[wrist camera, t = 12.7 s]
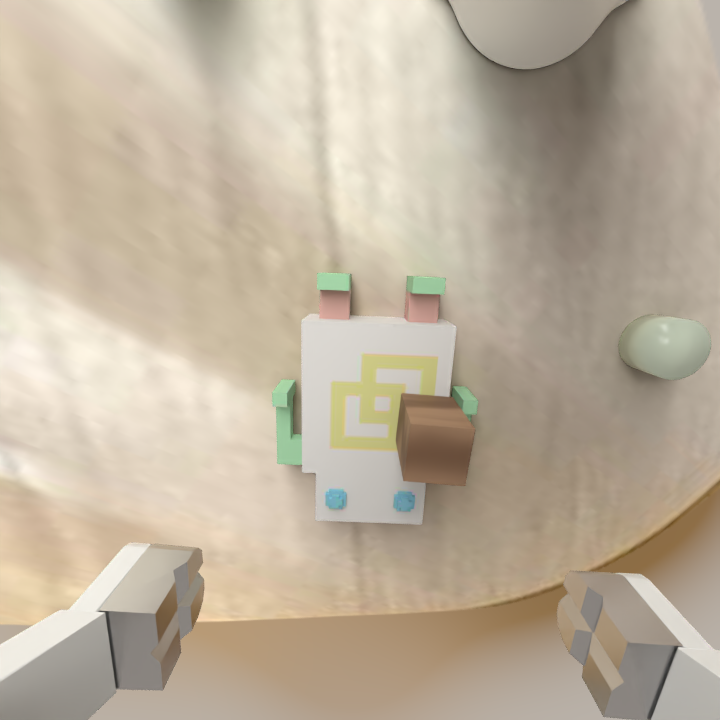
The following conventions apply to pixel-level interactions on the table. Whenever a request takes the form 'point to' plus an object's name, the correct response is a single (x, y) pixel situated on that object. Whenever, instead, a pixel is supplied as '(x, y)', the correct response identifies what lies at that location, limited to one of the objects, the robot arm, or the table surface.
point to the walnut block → (433, 440)
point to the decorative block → (365, 399)
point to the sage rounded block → (665, 346)
